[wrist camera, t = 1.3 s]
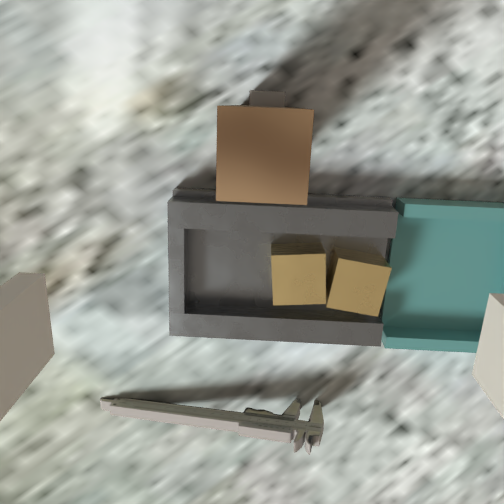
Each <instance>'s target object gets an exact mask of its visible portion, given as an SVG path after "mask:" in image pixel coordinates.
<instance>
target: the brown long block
mask: <svg viewBox="0 0 504 504" xmlns="http://www.w3.org/2000/svg"><path fill="white" fill-rule="evenodd" d="M313 118H314V110H312V109H303V108H293V107H285V92H280V91H256V90H250V96H249V106H245V105H230V106H217V163H216V201H229V202H251V203H273V204H295V205H307V198H308V184H309V171H310V158H311V145H312V132H313Z"/></svg>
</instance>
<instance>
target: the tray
mask: <svg viewBox="0 0 504 504" xmlns="http://www.w3.org/2000/svg"><path fill="white" fill-rule="evenodd" d="M395 210H397V211H398V212H399V214H398V221H397V229H396V236H395V238H391V243H390V251H389V258H388V264H389V265H390V266H391V268H392V269H391V273H390V276H389V280H388V283H387V287H386V290H385V293H384V297H383V304H382V311H381V320H382V322H383V324H384V325H383V332H382V339H381V340H382V342H383V344H384V347H385V348H393V349H412V350H431V351H451V352H470V353H477V348H478V344H479V339H480V335H481V330H482V325H483V321H484V316H485V312H486V307H487V302H488V298H489V293H498V294H504V202H483V201H460V200H438V199H416V198H396V205H395Z"/></svg>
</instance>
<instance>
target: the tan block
mask: <svg viewBox="0 0 504 504" xmlns="http://www.w3.org/2000/svg"><path fill="white" fill-rule="evenodd" d="M391 269H392V268H391V266H390V265H389V264H388V262H387V261H386V260H385V258H384V257H383V256H382V255H376V254H371V253H365V252H360V251H355V250H349V249H344V248H338V247H333V250H332V254H331V258H330V262H329V266H328V271H327V275H326V307H327V308H333V309H338V310H344V311H349V312H355V313H360V314H366V315H371V316H377V317H378V314H379V311H380V307H381V304H382V300H383V297H384V293H385V290H386V287H387V283H388V280H389V276H390V273H391Z"/></svg>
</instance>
